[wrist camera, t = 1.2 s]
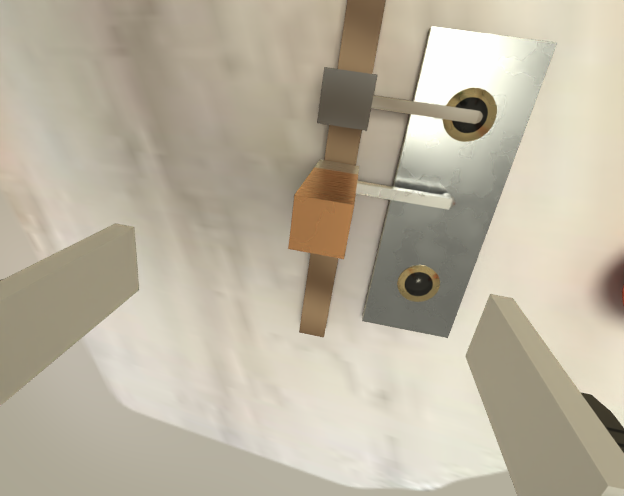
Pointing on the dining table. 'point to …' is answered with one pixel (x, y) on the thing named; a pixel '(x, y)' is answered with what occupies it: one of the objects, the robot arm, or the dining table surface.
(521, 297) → the dining table surface
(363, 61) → the gauge rail
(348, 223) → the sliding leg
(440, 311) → the bolt plate
